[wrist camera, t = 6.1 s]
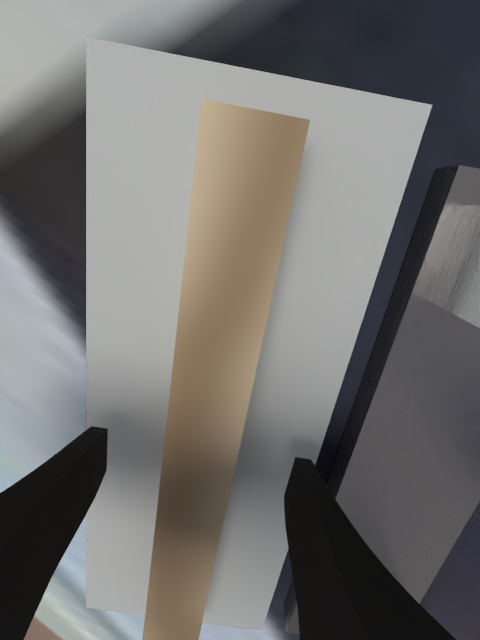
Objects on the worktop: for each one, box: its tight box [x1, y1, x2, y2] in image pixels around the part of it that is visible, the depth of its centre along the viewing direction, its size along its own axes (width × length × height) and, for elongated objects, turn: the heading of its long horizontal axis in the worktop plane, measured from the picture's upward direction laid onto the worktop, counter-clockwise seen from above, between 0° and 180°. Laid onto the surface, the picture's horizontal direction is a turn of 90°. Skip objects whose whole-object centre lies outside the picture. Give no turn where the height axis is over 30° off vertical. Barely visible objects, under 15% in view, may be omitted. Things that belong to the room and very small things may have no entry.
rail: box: [143, 99, 310, 640], centre depth 12 cm, size 2×23×2 cm, turn 170°
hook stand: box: [284, 165, 480, 634], centre depth 11 cm, size 6×23×7 cm, turn 170°
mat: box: [86, 37, 432, 630], centre depth 14 cm, size 10×26×1 cm, turn 170°
